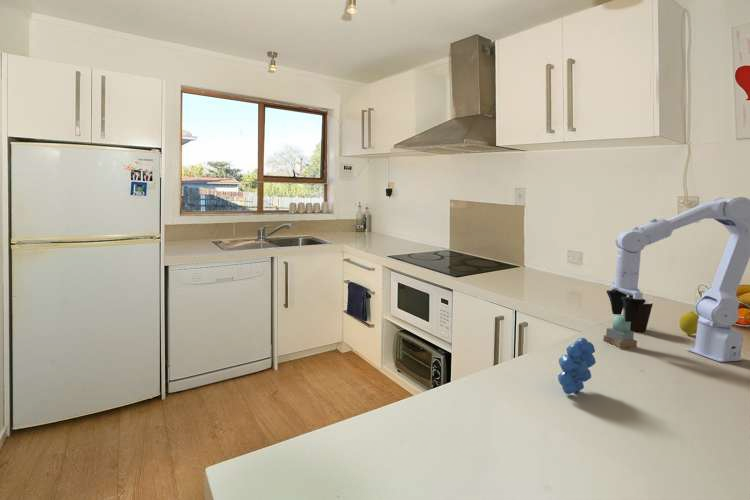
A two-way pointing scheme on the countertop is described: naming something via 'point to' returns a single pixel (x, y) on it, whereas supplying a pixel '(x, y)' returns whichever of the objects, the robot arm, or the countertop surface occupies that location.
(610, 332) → the grey square slab
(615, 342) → the walnut block
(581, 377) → the grapes
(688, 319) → the lemon
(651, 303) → the coffee mug
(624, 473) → the countertop surface
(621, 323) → the teal cylinder
